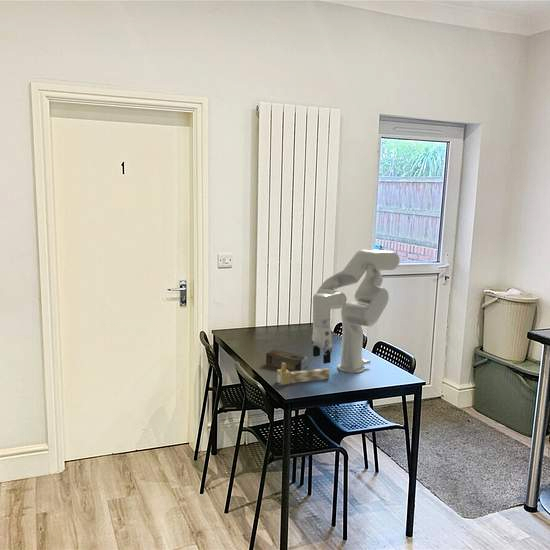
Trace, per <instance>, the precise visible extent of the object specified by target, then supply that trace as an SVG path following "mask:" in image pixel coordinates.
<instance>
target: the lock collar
mask: <svg viewBox="0 0 550 550" xmlns="http://www.w3.org/2000/svg"><path fill="white" fill-rule="evenodd" d="M290 372H291V371H290V370H287V369H286V363H284V362H282V364H281V368H278V369H277V370H276V382H277V383H278V373H280V374H281V385H280V386H285V385H286V384H287V385H291V382H290Z"/></svg>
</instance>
